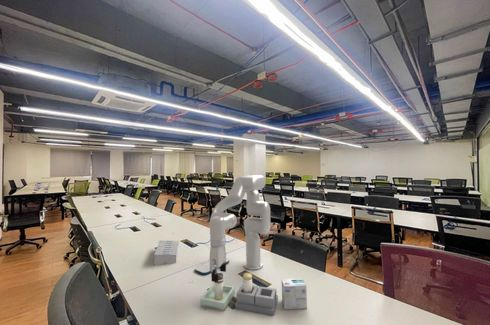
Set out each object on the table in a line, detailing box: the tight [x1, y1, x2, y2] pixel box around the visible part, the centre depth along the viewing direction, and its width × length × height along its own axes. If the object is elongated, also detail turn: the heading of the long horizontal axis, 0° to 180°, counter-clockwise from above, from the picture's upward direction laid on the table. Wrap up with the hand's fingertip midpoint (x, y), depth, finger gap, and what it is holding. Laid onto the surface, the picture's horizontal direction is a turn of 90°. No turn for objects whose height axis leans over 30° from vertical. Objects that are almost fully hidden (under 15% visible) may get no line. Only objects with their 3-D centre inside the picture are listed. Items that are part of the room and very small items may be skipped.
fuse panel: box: [234, 283, 279, 316], centre depth 102 cm, size 12×18×6 cm, turn 73°
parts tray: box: [200, 283, 236, 312], centre depth 106 cm, size 14×12×4 cm
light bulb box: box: [280, 277, 308, 310], centre depth 101 cm, size 11×7×11 cm, turn 92°
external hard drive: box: [194, 258, 230, 276], centre depth 142 cm, size 24×12×2 cm, turn 142°
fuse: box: [242, 272, 253, 294], centre depth 104 cm, size 4×4×11 cm
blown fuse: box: [213, 272, 224, 300], centre depth 106 cm, size 4×4×11 cm
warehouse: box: [153, 240, 179, 266], centre depth 162 cm, size 30×14×8 cm, turn 14°
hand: (219, 276), depth 107 cm, fingers open, 9 cm apart
